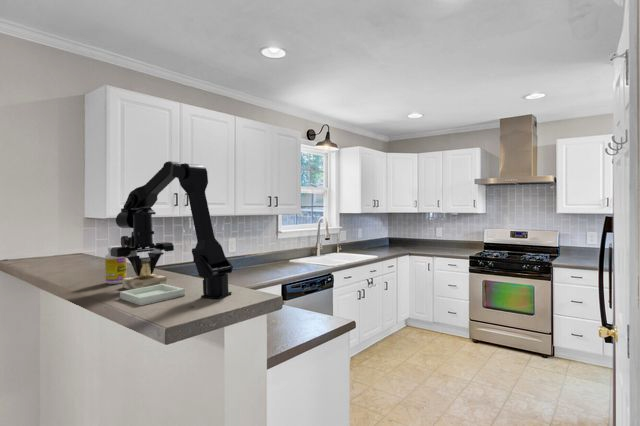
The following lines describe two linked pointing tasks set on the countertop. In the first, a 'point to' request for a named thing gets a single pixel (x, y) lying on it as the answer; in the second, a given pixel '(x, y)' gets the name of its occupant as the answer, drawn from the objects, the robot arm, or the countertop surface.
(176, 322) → the countertop surface
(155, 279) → the wooden square frame
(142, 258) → the spice jar
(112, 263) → the supplement bottle
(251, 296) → the countertop surface
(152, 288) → the tray
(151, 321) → the countertop surface
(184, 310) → the countertop surface
